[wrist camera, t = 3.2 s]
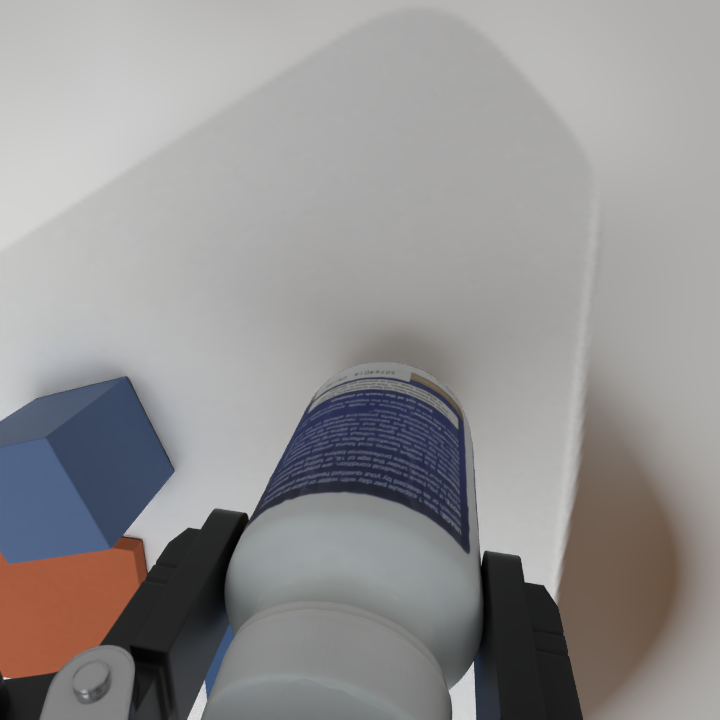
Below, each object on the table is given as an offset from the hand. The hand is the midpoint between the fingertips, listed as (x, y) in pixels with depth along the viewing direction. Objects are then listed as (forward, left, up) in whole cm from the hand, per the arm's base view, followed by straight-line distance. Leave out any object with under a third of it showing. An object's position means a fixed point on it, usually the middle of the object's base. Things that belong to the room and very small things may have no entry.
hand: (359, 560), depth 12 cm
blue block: (+4, -13, -9) cm, 17 cm away
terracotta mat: (+16, -18, -9) cm, 26 cm away
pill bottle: (0, 0, -6) cm, 6 cm away
